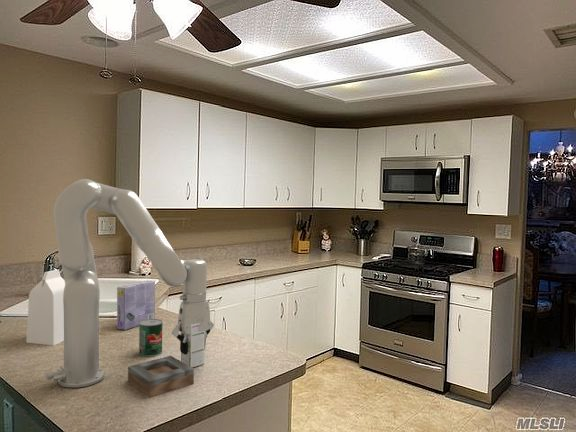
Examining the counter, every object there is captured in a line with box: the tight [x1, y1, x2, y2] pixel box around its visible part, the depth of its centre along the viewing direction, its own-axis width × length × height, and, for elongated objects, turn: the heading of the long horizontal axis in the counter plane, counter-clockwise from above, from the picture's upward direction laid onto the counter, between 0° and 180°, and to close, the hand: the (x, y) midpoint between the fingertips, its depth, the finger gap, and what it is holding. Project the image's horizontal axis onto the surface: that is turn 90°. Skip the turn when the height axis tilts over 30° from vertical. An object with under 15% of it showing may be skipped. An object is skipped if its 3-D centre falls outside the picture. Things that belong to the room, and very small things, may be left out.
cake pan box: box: [116, 280, 156, 331], centre depth 189 cm, size 19×5×18 cm, turn 155°
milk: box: [26, 269, 65, 346], centre depth 167 cm, size 12×12×26 cm
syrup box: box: [180, 323, 206, 368], centre depth 146 cm, size 6×6×14 cm
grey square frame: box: [127, 355, 195, 398], centre depth 132 cm, size 14×14×4 cm
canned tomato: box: [138, 318, 163, 358], centre depth 156 cm, size 8×8×11 cm
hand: (192, 350), depth 146 cm, fingers closed on syrup box, 5 cm apart
